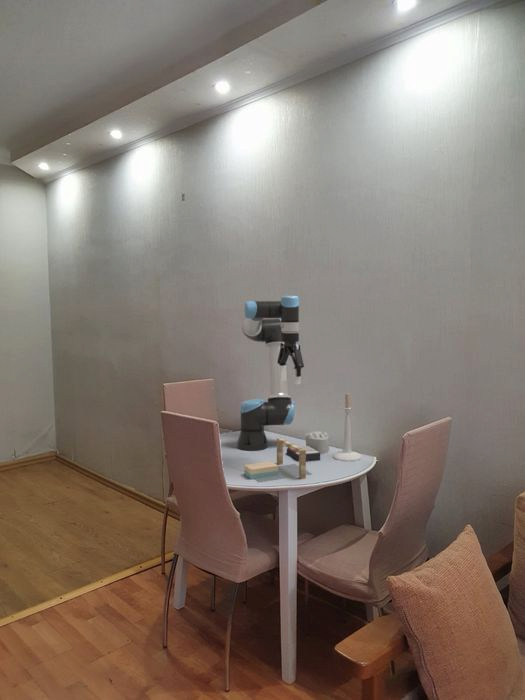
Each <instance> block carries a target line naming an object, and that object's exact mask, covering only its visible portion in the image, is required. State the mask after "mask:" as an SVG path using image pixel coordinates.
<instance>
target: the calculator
mask: <svg viewBox="0 0 525 700" xmlns="http://www.w3.org/2000/svg"><path fill="white" fill-rule="evenodd" d="M298 447H300V448H302V449H304V450H306V463H307V462H317V461H321V454H320V453H319V452H318V451H315V449H313V448H311V447H309V446H306V445H300V446H298ZM286 455H288V456H289V457H290V458H292V459H294V460H295V462H298V463H299V453H297V452H296V451H294V450H292V449H290V448H288V447H286Z"/></svg>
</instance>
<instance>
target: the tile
mask: <svg viewBox="0 0 525 700" xmlns="http://www.w3.org/2000/svg"><path fill="white" fill-rule="evenodd" d="M278 466H279V465H278V464H277V463H275V462H273V461H262V462H256V463H249V464H244V471H245V472H244V475H245V476H246V477H247V478H248V479H250V480H255V479H257V478H264V477H271V476H278Z"/></svg>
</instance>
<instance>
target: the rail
mask: <svg viewBox="0 0 525 700" xmlns="http://www.w3.org/2000/svg"><path fill="white" fill-rule="evenodd" d="M283 446H285V447H286V448H290V449H292V450H294V451H296V452H297V453H299V462H298V466H299V476H298V478H299V479H300V480H304V479H306V478H307V475H306V471H307V462H306V450H304V449H302V448H300V447H299V446H298V445H296V444H294V443H292V442H290V441H287V440H286V439H283V438H282V437H277V438H276V465H278V466H283V465H284V447H283Z"/></svg>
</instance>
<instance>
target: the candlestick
mask: <svg viewBox="0 0 525 700" xmlns="http://www.w3.org/2000/svg"><path fill="white" fill-rule="evenodd" d="M344 396H345V397H344V398H345V400H344V401H345V403H344V404H345V405H344V406H345V407H343V409H344V413H345V415H344V417H345V418H344V419H345V420H344V431H343V432H344V433H343V434H344V436H343V449H342V451H338V452H335V453H334V454H333V456H332V458H333V459H334V460H337V461H339V460H340V462H347V461H351V462H357V461H356V460H358V461H360V460H359V459H361V458H362V455H361V454H359V453H358V452H356V451H352V439H351V438H352V437H351V436H352V435H351V417H350V416H351V415H350V413H351V409H352V407H351V404H350V403H351V402H350V401H351V393H349V392H347V393H345V395H344ZM362 459H363V458H362ZM362 459H361V460H362Z"/></svg>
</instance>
